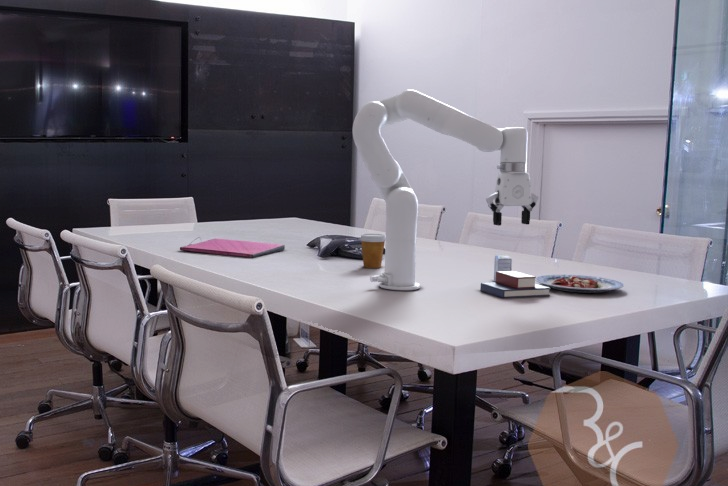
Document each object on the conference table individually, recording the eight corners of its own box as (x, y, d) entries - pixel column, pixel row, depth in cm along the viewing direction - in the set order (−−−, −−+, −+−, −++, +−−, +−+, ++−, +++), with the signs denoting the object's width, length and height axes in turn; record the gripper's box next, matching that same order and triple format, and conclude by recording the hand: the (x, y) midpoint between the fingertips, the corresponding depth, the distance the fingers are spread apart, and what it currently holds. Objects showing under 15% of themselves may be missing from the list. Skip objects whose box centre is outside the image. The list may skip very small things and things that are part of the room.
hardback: (503, 298, 227) (503, 290, 226) (480, 290, 238) (480, 282, 238) (549, 295, 230) (550, 287, 230) (525, 288, 242) (525, 280, 242)
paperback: (516, 289, 228) (517, 277, 228) (495, 282, 239) (495, 271, 238) (535, 288, 229) (536, 276, 229) (513, 281, 240) (513, 270, 240)
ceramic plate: (516, 283, 250) (517, 274, 250) (576, 279, 260) (577, 270, 259) (579, 298, 227) (580, 288, 226) (642, 292, 236) (643, 283, 236)
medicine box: (511, 285, 248) (512, 258, 247) (496, 284, 249) (497, 258, 248) (507, 281, 256) (508, 255, 255) (493, 280, 257) (494, 254, 256)
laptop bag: (285, 241, 327) (252, 249, 305) (285, 250, 328) (252, 259, 305) (208, 234, 349) (172, 241, 326) (208, 243, 349) (172, 251, 327)
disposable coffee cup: (389, 266, 286) (390, 234, 284) (379, 269, 278) (380, 237, 276) (365, 264, 291) (365, 232, 289) (355, 267, 283) (355, 235, 281)
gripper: (495, 169, 226) (493, 226, 228) (546, 168, 230) (543, 224, 232) (480, 168, 234) (479, 224, 236) (530, 167, 238) (528, 222, 240)
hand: (511, 224), depth 234 cm, fingers open, 9 cm apart
